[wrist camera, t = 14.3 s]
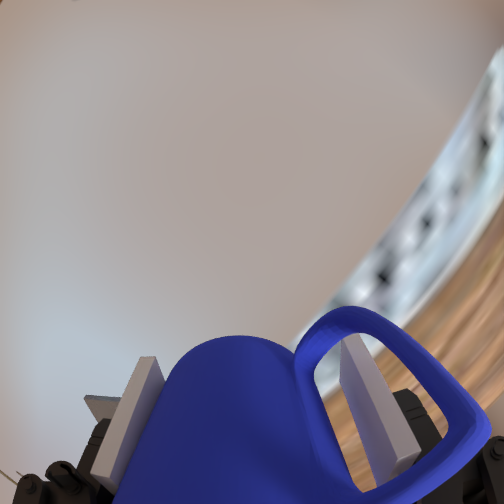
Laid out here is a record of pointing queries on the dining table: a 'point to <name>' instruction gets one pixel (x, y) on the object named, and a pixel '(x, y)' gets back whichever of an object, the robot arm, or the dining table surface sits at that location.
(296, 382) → the mug
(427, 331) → the dining table surface
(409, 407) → the robot arm
